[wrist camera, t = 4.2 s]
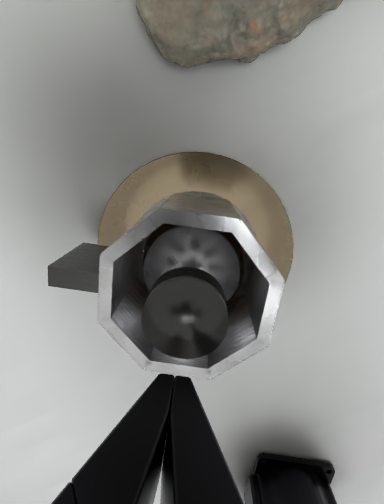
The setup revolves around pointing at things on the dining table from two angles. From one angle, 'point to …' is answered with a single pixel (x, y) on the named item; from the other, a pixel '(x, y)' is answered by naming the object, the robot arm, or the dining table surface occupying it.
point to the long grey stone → (225, 26)
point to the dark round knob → (188, 291)
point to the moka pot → (192, 215)
